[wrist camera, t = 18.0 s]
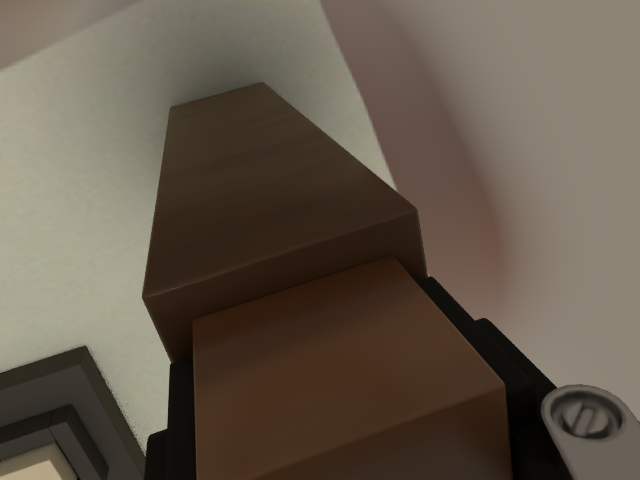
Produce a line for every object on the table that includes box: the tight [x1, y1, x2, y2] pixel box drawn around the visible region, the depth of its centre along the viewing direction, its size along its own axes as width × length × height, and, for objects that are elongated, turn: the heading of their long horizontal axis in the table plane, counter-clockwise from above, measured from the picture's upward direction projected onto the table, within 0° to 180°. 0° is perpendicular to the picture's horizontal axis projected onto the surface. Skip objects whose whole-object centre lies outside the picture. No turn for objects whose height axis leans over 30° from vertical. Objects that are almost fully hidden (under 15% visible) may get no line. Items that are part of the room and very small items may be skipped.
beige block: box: [0, 441, 77, 480], centre depth 35 cm, size 4×4×2 cm
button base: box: [0, 346, 146, 480], centre depth 37 cm, size 12×10×4 cm
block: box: [192, 256, 514, 480], centre depth 10 cm, size 4×4×4 cm
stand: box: [142, 82, 428, 363], centre depth 23 cm, size 6×6×24 cm
